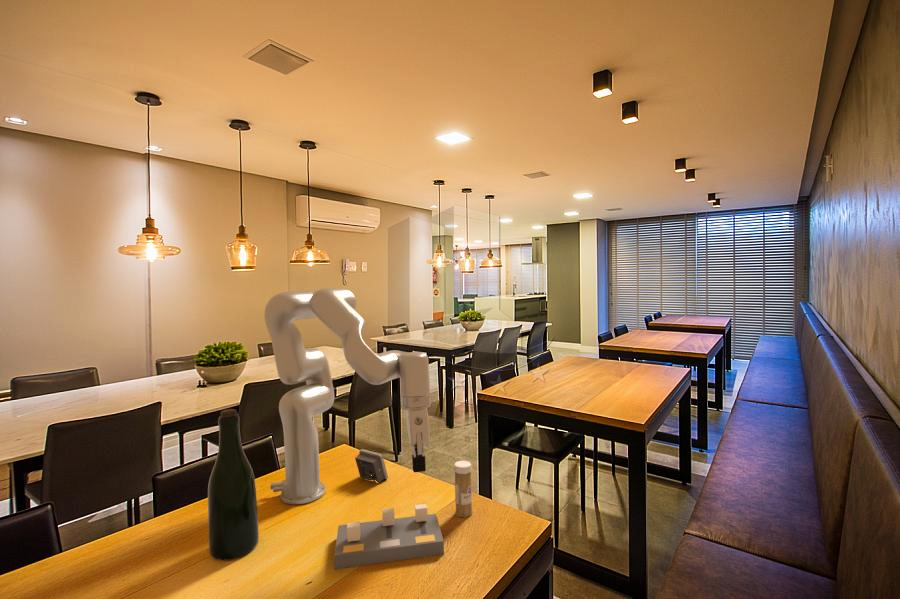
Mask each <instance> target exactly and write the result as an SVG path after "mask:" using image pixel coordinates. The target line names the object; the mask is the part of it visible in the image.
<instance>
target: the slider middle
mask: <svg viewBox="0 0 900 599" xmlns="http://www.w3.org/2000/svg"><path fill="white" fill-rule="evenodd" d="M381 512H382V520H383V526H389V525H395V523H394V519H395V509H394V507H388V508H387V507H386V508H382V509H381Z"/></svg>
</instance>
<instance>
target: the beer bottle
mask: <svg viewBox="0 0 900 599" xmlns="http://www.w3.org/2000/svg"><path fill="white" fill-rule="evenodd" d="M240 420H241V419H240V416H239V413H238V411H237V409H235V408H228V409H224V410H221V411H220V416H219V417H218V421H217V423H218V433H219V436H218V438H219V439H218V449H217V455H216V459H215V463H214V465H213V467H212V470H211V473H210V477H209V480H208V487H207V514H208V515H207V516H208V517H207V519H208V520H207V522H208V548H209V554H210V556H211V558H213V559H214V560H219V561H229V560H235V559H238V558H241V557H244V556H245V555H247V554H248V553H250V552H252V551H253V550H254V549H255V548H256V547H257V545H258V543H259V541H260V540H259V539H260V538H259V534H260V532H259V516H258V501H257V486H256V480H255V479H256V478H255V474H254V471H253V468H252V466H251V463H250V462H249V460H248V458H247V456H246V454H245V451H244V449H243V445H242V440H241V432H240Z"/></svg>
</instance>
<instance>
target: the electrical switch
mask: <svg viewBox="0 0 900 599" xmlns="http://www.w3.org/2000/svg"><path fill="white" fill-rule="evenodd" d="M358 451H359V452H358V453H359V454H358V455H357V456H356V457H354V458H355V459H354V460H355V463H356V465H357V466H356V467H357V470H358V474H359V478H360V479H361V478H363V479H362V480H365V479H367V480H366V481H368V480H374V481H375V480H376V481H377V482H378V483H379V484H380V483H381V482H382V481H384V480H383V479H386V480H385V481H387V480H388V478H389V476H388V472H387V468H386V464H385V461H384V460H385V459H384V457H383V454H381V453H379V452H376V451H375V452H374V451H370V450H366V449H364V448H361V449H359V450H358ZM371 475H372V476H371ZM373 476H374V477H373ZM378 483H377V484H378Z"/></svg>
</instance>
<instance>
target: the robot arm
mask: <svg viewBox="0 0 900 599" xmlns="http://www.w3.org/2000/svg"><path fill="white" fill-rule="evenodd" d="M356 308H357V299H356V297H355V295H354V294H353V292H351V290H349V289H347V288H344V287H329V288H328V287H327V288H321V289H318V290H292V291H289V290H288V291H284V292H280V293H277V294H275V295H273V296H272V297H271V298H270V299H268V301H267V304H266V305H265V308H264V314H263V316H264V322H265V326H266V330H267V331H268V334H269V338H270V341H271V345H272V351H273V356H274V360H275V367H276V370H277V371H276V372H277V375H278V378H279V380H280V382H282V383H283V384H284V385H296V384H299V383H303V382H305V384H306V385H303V386H299V387H296V388H294V389H291V390H289V391H287V392H286V393H284V395H282V397H281V398H280V400H279V404H278V411H279V412H278V413H279V416H280V420H281V423H282V424H281V425H282V429H283V430H282V431H283V444H284V445H283V446H284V464H285V466H284V467H285V468H284V470H285V480H282V481H277V482H276V481H274V482H271V483H270V490H272V492H273V493H278V492H281V493H280V500H281V501H282V503H285V504H287V505H304V504H307V503H311V502H314V501H316V500H318V499H320V498H321V497H323V495H325V494H326V490H327V488H326V487H327V486H326V485H325V484H324V483H323V482H321V473H320V471H321V470H320V451H319V450H320V449H319V448H320V447H319V444H320V443H319V433H318V428H317V426H316V424H315V423H314V421H313V418H314V417H316V416H317V415H321V414H323V413H324V412H326V411H328V410H329V409H331V408H332V406H333V404H334V402H335V390H334V385H333V379H332V374H331V369H330V365H329V361H328V358H327V355H325V353H324V352H323V351H322V350H320V349H319V348H317V347H308V348H305V345H304V339H303V335H302V333H301V331H300V330H299V328H298V327H297V325H296V324H294V321H298V320H299V321H300V320H309V319H319V320H320V321H321V322H322V323H323V324H324V325H325V326H326V327H327V328H328V330H330V331H331V332H332V333H333V335H335V336H336V338H338V340H339V341H340V342H341V348H342V352H343V355H344V358H345V360H346V362H347V363H348V365H349V366H350V368H351V369H352V370H353V371H354V372H355V373H356V374H357V375H358V376H359V377H360V378H361V379H363V380H364V381H366V382H367V383H368V384H371V385H375V386H377V385H379V386H380V385H382V384H385V383H388V382H390V381H392V380H396V379H398V378H399V381H400V382H399V384H400V402H401V406H400V407H401V409H403V410H406V411H405V412H406V427H407V436H408V441H409V444H410V447H411V449H412V455H411V456H412V457H411V458H412V459H411V462H412V471H413V473H422V472H426V468H427V467H426V455H425V447H427V448H430V447H431V438H430V437H431V436H430V435H431V434H430V422H429V412H428V408H430V407H431V404H432V402H431V388H430V385H431V384H430V368H429V367H430V363H429V362H430V361H429V357H428V355H427V353H425V352H422V351H411V352H407V351H403V350H402V351H401V350H396V349H393V350H387V351H383V352H381V353H375V352H374V351H373V350H372V349H371V348H370V347H369V346H368V345H367V343H365V341H364V340H363V338H362V333H363V331H365V328H366V324H367V323H366V321H365V319H364V318H363V317H362V316H361V315H360V314H359V313H358V311H356Z"/></svg>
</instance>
